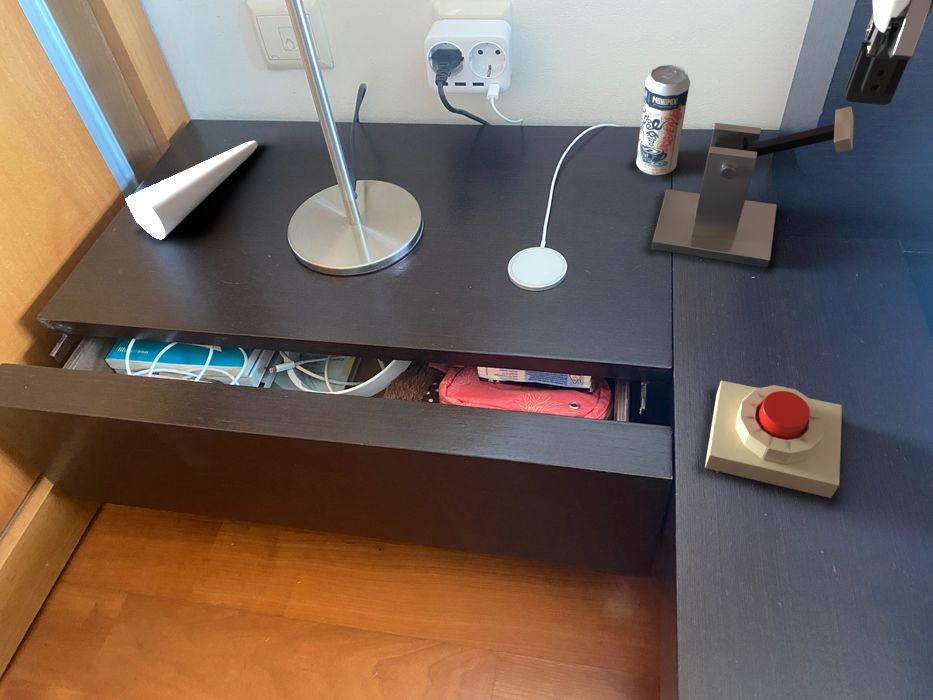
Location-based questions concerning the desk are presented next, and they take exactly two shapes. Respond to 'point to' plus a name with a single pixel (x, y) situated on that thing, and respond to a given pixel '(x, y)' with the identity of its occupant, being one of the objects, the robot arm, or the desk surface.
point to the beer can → (662, 119)
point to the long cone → (184, 191)
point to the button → (783, 414)
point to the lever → (802, 137)
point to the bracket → (720, 209)
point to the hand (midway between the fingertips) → (866, 97)
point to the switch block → (775, 442)
